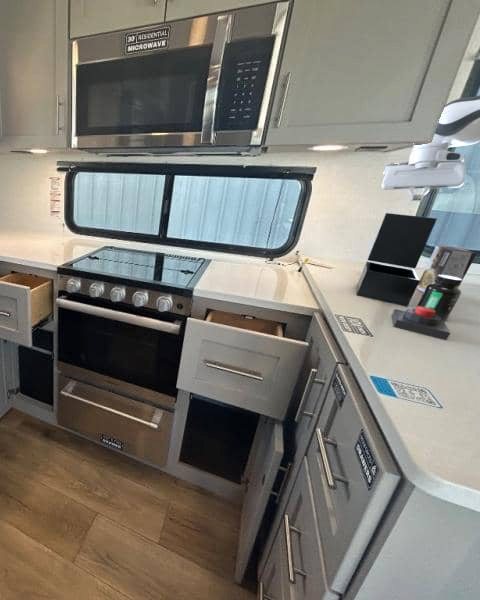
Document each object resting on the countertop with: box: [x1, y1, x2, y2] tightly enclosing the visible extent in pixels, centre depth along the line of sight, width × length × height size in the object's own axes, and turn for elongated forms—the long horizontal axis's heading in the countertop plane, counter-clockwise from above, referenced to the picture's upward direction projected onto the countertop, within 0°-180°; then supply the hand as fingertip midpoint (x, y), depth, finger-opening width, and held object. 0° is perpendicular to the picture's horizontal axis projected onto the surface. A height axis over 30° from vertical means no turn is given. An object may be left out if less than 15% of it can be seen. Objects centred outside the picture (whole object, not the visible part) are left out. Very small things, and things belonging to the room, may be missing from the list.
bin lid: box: [366, 212, 438, 269], centre depth 111 cm, size 16×13×1 cm
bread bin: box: [355, 261, 420, 308], centre depth 109 cm, size 16×13×9 cm
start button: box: [414, 305, 436, 317], centre depth 86 cm, size 4×4×2 cm
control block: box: [391, 308, 451, 341], centre depth 87 cm, size 10×10×4 cm
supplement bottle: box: [415, 275, 463, 321], centre depth 94 cm, size 7×7×12 cm
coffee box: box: [416, 245, 478, 293], centre depth 112 cm, size 9×6×16 cm
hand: (416, 200), depth 114 cm, fingers closed
